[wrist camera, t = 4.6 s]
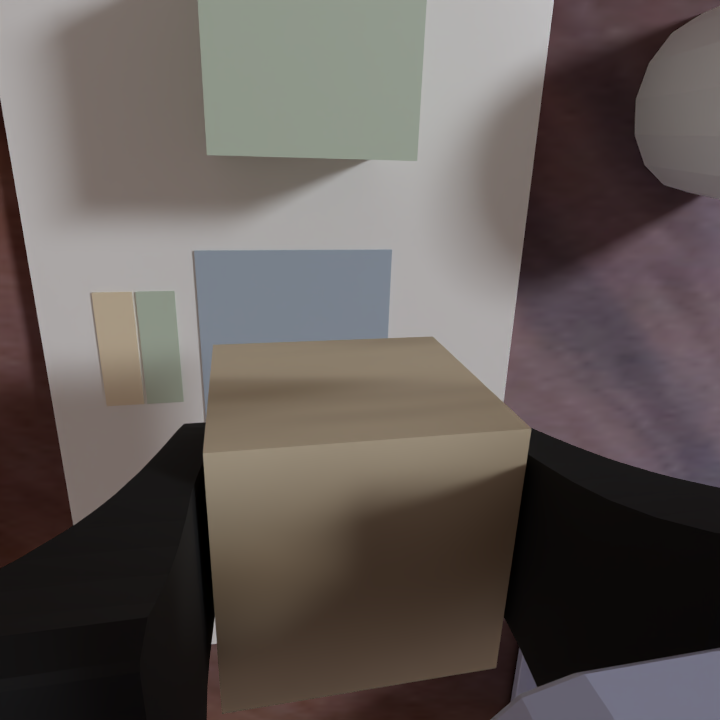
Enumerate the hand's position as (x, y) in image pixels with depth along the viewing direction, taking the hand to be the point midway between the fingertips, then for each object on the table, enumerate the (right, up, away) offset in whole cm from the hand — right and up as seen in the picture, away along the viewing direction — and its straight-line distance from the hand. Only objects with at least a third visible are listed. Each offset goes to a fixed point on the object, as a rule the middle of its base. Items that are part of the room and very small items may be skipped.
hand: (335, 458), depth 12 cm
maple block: (0, 0, +1) cm, 1 cm away
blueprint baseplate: (-2, +3, +7) cm, 8 cm away
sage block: (-1, +10, +4) cm, 11 cm away
